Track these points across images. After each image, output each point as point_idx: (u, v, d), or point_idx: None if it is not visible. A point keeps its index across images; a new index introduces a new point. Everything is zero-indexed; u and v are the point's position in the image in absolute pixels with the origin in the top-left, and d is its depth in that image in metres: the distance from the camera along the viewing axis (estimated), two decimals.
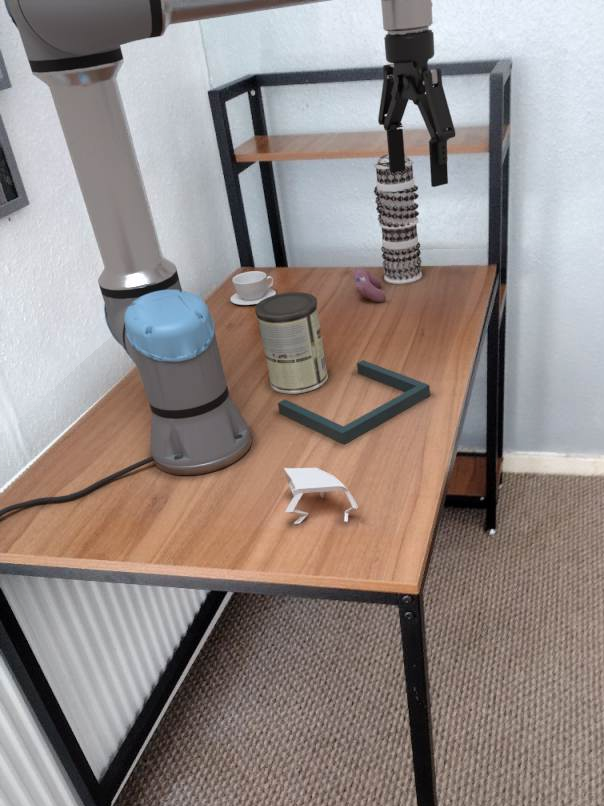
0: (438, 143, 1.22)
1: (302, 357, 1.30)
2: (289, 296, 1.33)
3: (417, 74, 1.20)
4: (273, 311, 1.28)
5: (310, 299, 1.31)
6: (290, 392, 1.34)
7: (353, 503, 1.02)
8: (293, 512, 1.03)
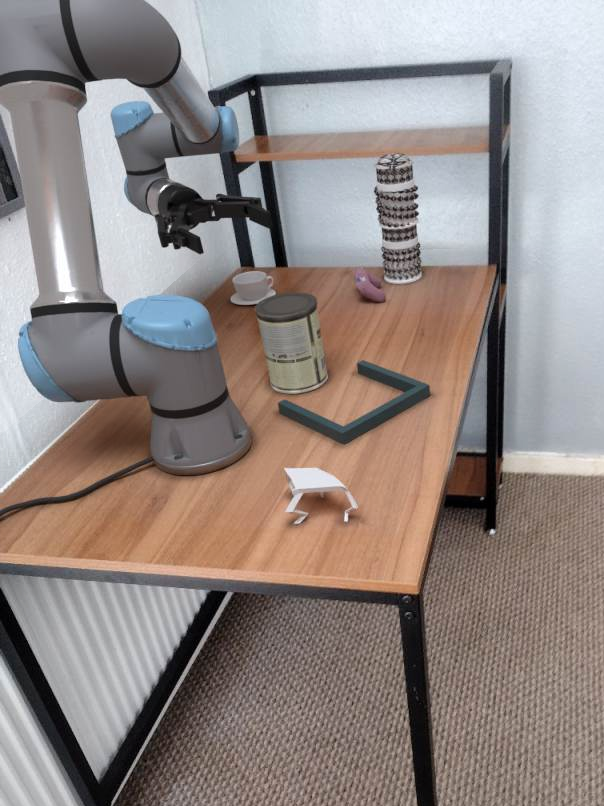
0: (255, 205, 1.39)
1: (302, 357, 1.30)
2: (289, 296, 1.33)
3: None
4: (273, 311, 1.28)
5: (310, 299, 1.31)
6: (290, 392, 1.34)
7: (353, 503, 1.02)
8: (293, 512, 1.03)
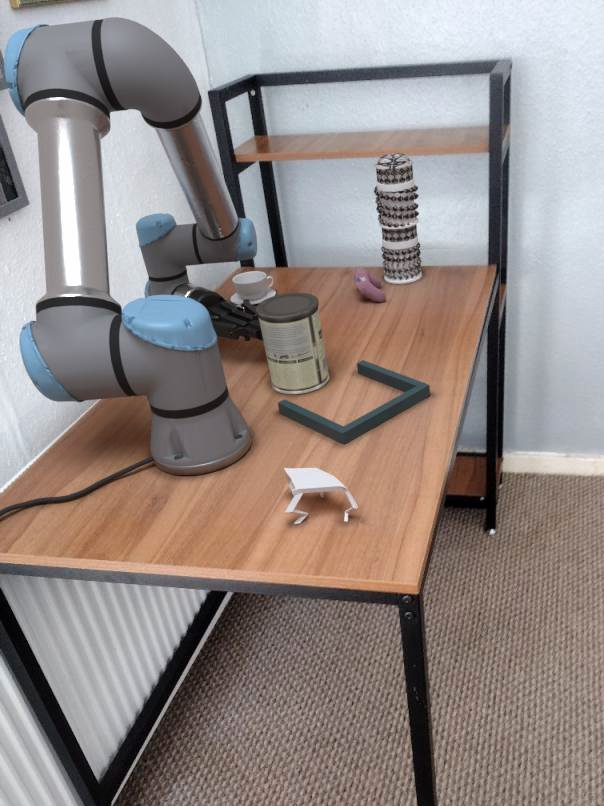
0: None
1: (303, 358, 1.30)
2: (290, 296, 1.33)
3: (233, 302, 1.49)
4: (275, 311, 1.28)
5: (311, 299, 1.30)
6: (291, 392, 1.34)
7: (353, 503, 1.02)
8: (293, 512, 1.03)
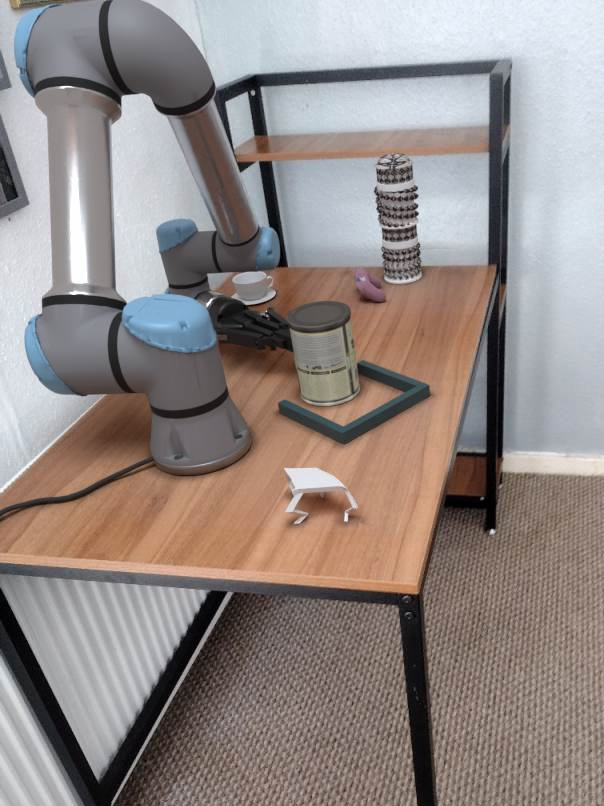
0: None
1: (337, 368, 1.26)
2: (320, 305, 1.28)
3: (256, 310, 1.44)
4: (307, 321, 1.23)
5: (343, 308, 1.26)
6: (324, 404, 1.29)
7: (353, 503, 1.02)
8: (293, 512, 1.03)
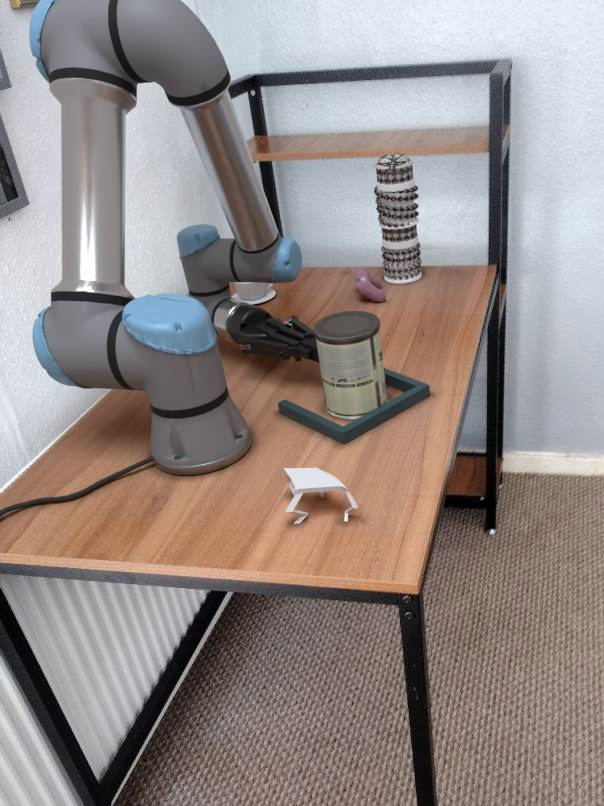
0: None
1: (363, 381, 1.21)
2: (348, 315, 1.24)
3: (280, 319, 1.40)
4: (333, 332, 1.19)
5: (372, 319, 1.21)
6: (349, 418, 1.25)
7: (353, 503, 1.02)
8: (293, 512, 1.03)
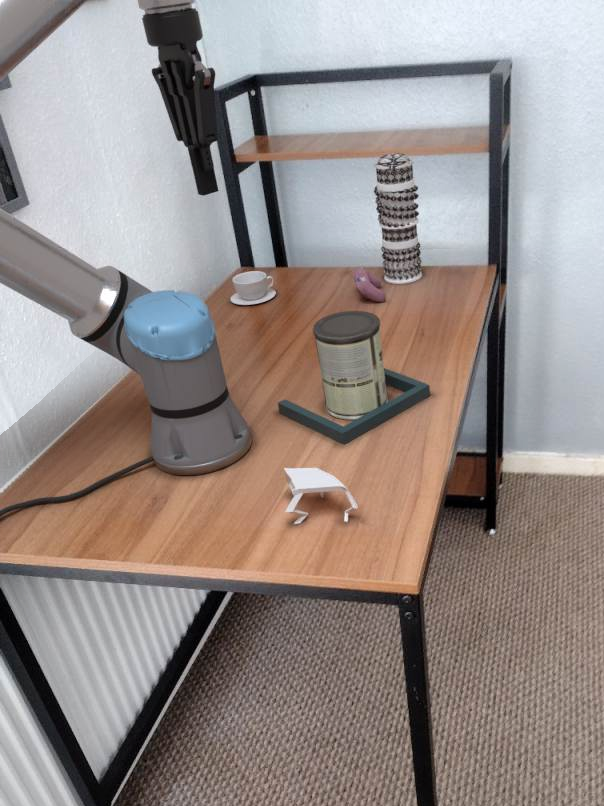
0: (199, 149, 1.15)
1: (363, 381, 1.21)
2: (348, 314, 1.24)
3: (187, 62, 1.06)
4: (333, 331, 1.19)
5: (372, 319, 1.21)
6: (349, 418, 1.25)
7: (353, 503, 1.02)
8: (293, 512, 1.03)
